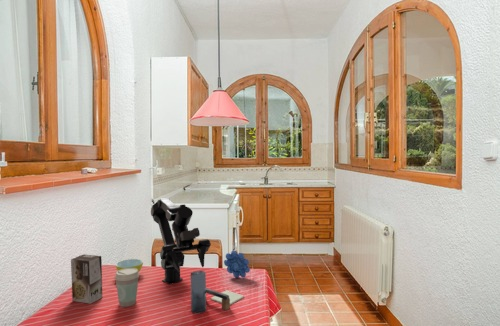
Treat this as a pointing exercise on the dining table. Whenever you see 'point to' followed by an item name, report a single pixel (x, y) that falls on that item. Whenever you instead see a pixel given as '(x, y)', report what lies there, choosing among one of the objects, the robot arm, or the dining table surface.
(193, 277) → the canister
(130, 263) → the bowl
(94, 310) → the dining table surface
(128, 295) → the coffee cup
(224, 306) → the posts
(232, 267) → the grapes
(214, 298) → the mat
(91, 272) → the coffee box
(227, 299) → the bar
